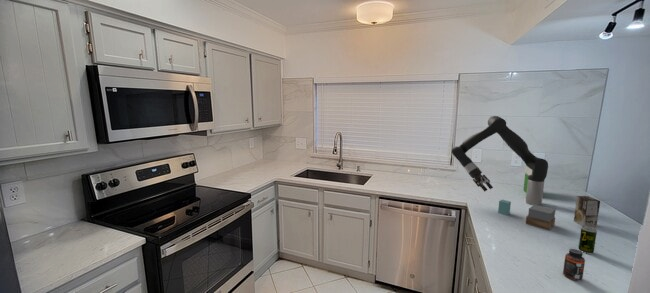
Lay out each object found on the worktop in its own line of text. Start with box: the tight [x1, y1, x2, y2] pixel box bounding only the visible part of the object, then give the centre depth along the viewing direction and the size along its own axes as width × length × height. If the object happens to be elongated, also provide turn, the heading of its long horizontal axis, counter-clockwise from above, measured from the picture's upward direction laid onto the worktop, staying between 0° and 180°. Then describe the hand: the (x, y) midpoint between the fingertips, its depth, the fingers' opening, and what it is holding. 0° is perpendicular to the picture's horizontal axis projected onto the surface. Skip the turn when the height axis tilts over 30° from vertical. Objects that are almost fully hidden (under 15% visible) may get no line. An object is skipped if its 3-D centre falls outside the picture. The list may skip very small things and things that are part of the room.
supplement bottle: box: [562, 248, 586, 281], centre depth 110 cm, size 6×6×11 cm
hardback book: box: [523, 164, 534, 194], centre depth 213 cm, size 18×7×24 cm, turn 156°
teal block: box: [497, 199, 512, 216], centre depth 177 cm, size 5×5×8 cm
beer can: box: [578, 225, 598, 254], centre depth 129 cm, size 5×5×12 cm
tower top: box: [527, 205, 556, 222], centre depth 158 cm, size 10×10×5 cm
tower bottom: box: [525, 215, 556, 231], centre depth 159 cm, size 11×11×5 cm
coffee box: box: [573, 195, 601, 229], centre depth 158 cm, size 9×6×16 cm
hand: (489, 189), depth 183 cm, fingers open, 8 cm apart
